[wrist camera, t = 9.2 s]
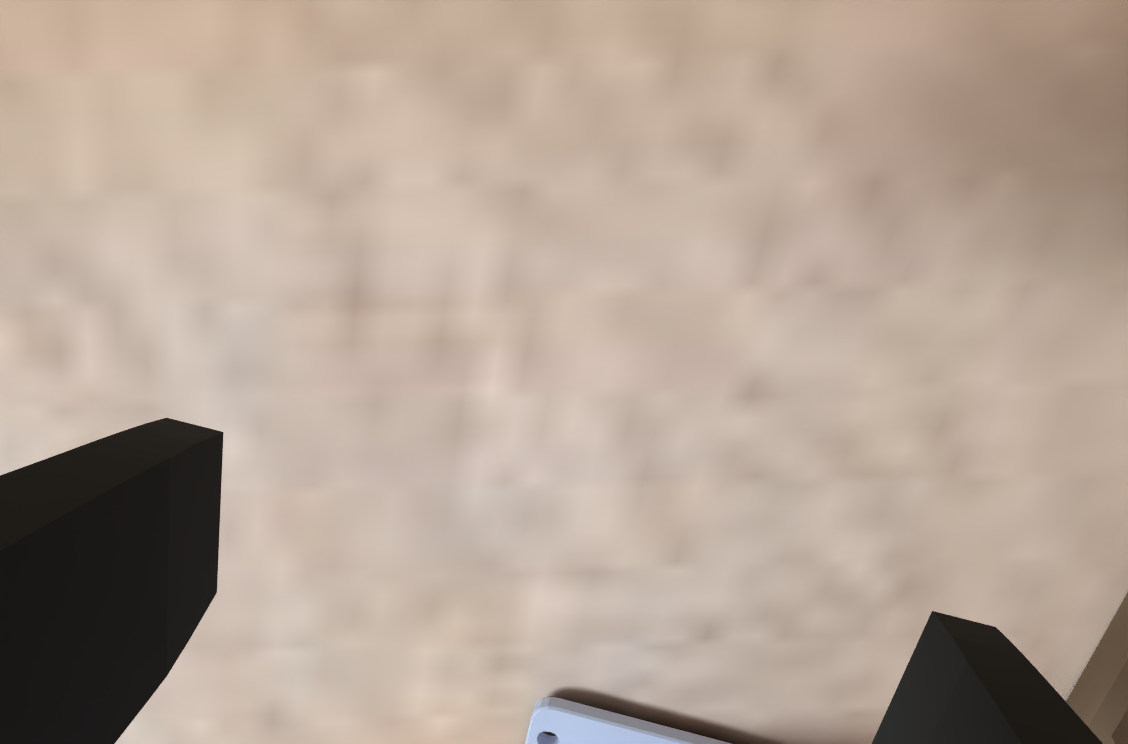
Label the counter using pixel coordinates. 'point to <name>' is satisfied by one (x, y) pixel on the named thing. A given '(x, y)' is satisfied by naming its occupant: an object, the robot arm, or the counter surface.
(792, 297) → the counter surface
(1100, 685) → the rack
